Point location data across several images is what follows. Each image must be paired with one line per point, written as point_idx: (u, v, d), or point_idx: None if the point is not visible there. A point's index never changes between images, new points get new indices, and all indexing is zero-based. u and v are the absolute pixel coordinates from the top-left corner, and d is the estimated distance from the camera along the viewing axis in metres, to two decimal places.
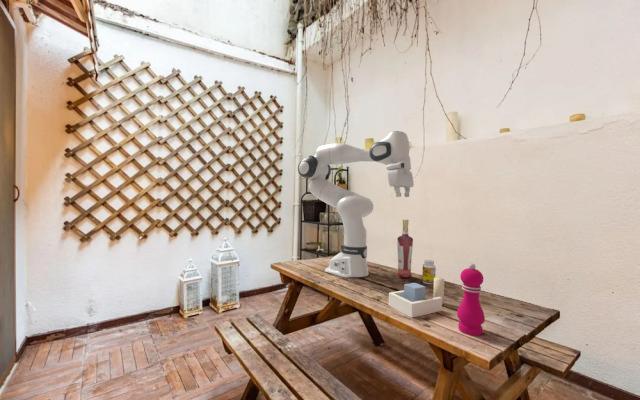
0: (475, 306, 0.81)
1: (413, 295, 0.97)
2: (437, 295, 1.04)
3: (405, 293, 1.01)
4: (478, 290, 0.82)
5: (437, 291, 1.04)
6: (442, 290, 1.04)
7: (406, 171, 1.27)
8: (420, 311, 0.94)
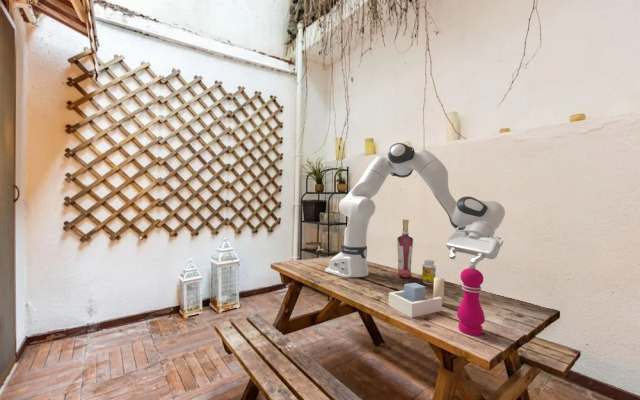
0: (475, 306, 0.81)
1: (413, 295, 0.97)
2: (437, 295, 1.04)
3: (405, 293, 1.01)
4: (478, 290, 0.82)
5: (437, 291, 1.04)
6: (442, 290, 1.04)
7: (470, 234, 1.14)
8: (420, 311, 0.94)
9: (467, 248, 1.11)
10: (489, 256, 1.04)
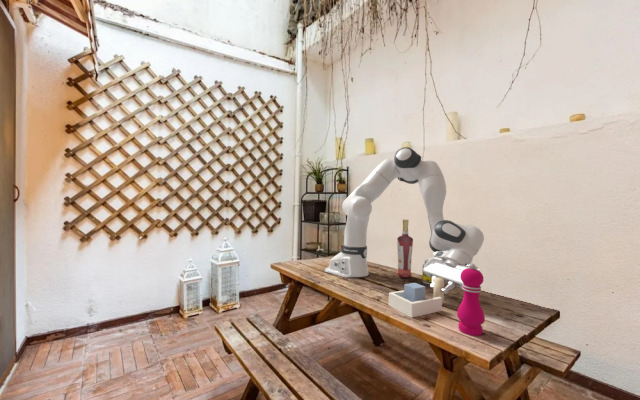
0: (475, 306, 0.81)
1: (413, 295, 0.97)
2: (437, 295, 1.04)
3: (405, 293, 1.01)
4: (478, 290, 0.82)
5: (437, 291, 1.04)
6: None
7: (447, 261, 1.08)
8: (420, 311, 0.94)
9: (443, 276, 1.06)
10: None
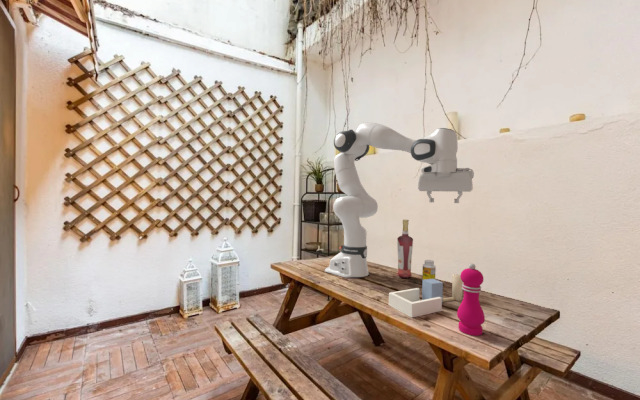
0: (475, 306, 0.81)
1: (430, 290, 1.03)
2: (455, 291, 1.09)
3: (423, 288, 1.07)
4: (478, 290, 0.82)
5: (455, 287, 1.09)
6: (460, 287, 1.08)
7: (440, 174, 1.13)
8: (420, 311, 0.94)
9: (444, 190, 1.13)
10: (468, 191, 1.10)
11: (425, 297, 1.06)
